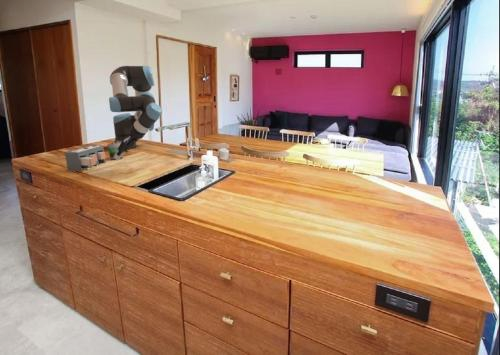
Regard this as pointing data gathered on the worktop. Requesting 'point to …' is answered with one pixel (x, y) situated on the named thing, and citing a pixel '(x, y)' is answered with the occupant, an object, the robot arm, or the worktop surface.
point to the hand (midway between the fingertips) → (116, 158)
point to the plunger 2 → (101, 155)
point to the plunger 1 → (87, 161)
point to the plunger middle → (93, 156)
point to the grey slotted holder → (76, 154)
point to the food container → (113, 149)
